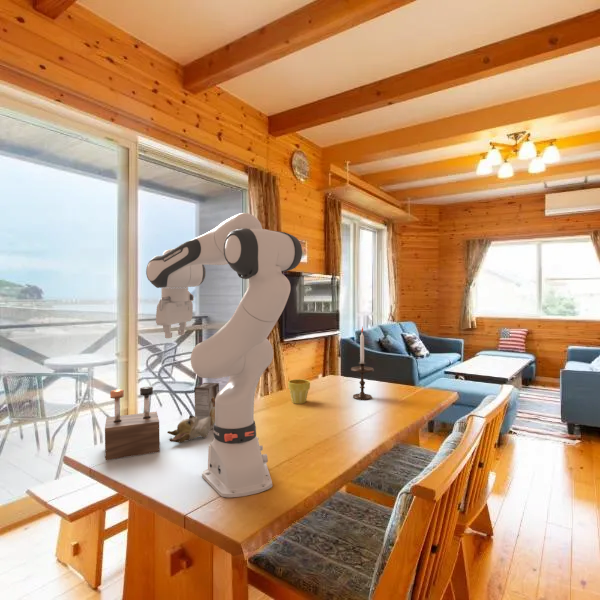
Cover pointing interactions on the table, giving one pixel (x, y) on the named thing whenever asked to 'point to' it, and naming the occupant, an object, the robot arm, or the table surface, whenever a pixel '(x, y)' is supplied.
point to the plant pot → (298, 390)
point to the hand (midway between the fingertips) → (175, 336)
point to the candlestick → (362, 371)
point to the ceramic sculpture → (191, 429)
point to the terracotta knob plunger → (117, 402)
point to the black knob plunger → (146, 399)
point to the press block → (131, 436)
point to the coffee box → (206, 401)
